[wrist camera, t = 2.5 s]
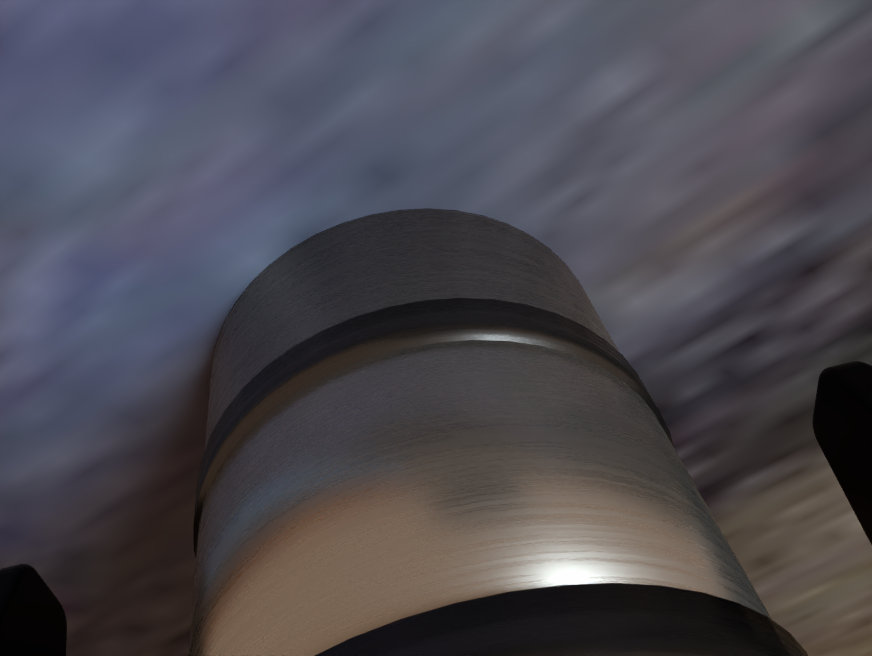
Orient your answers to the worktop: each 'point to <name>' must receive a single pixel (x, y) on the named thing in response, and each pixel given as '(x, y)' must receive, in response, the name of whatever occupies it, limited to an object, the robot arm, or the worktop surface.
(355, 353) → the lens
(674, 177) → the worktop surface
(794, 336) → the worktop surface
